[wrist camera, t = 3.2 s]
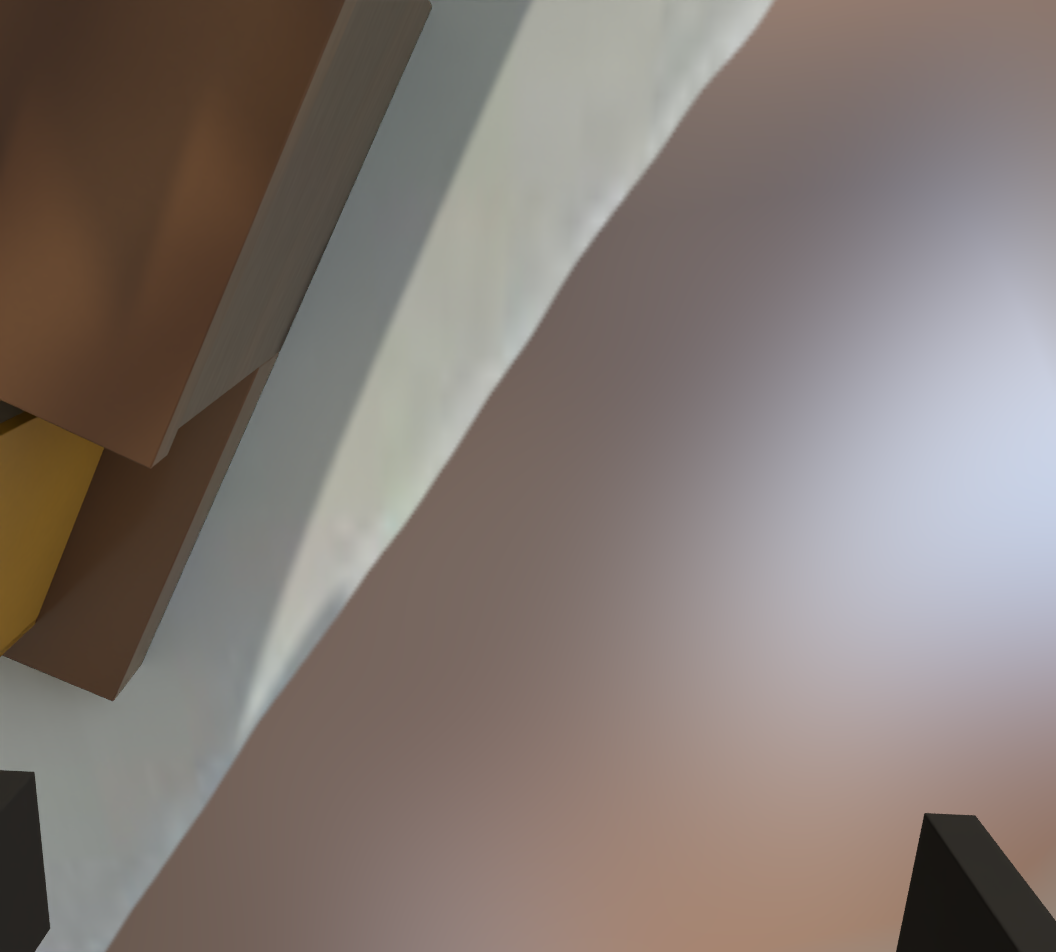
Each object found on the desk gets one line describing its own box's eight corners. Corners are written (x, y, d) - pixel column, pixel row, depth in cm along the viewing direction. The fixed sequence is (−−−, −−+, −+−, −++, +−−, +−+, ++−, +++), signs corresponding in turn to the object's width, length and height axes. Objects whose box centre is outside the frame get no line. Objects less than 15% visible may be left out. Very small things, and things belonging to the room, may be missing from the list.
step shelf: (-133, 548, 39) (-473, 746, 25) (103, -192, 30) (-221, -471, 17) (147, 667, 41) (-32, 909, 27) (443, 4, 32) (389, -109, 19)
